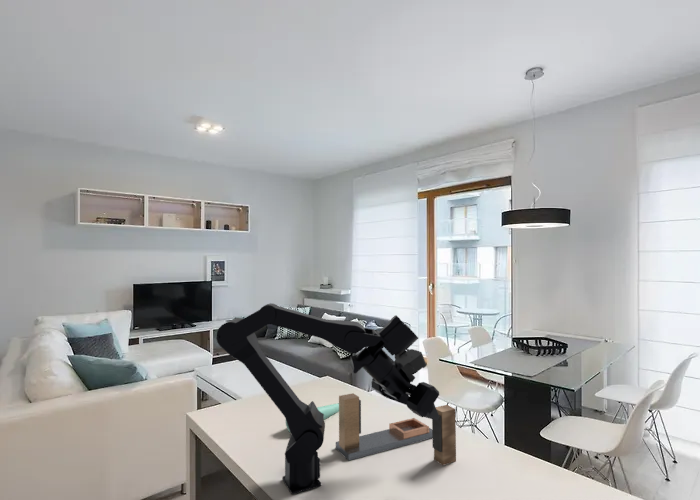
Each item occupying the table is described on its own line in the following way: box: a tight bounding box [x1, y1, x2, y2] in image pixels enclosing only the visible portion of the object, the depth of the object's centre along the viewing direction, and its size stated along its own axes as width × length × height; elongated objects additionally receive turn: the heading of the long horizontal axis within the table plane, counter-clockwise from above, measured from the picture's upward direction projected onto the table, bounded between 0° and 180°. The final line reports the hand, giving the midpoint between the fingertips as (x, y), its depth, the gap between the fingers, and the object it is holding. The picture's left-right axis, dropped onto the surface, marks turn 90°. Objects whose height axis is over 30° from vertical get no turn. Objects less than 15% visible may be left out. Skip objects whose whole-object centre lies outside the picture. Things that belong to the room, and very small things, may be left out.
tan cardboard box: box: [431, 404, 457, 466], centre depth 91 cm, size 5×3×12 cm, turn 118°
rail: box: [335, 392, 432, 461], centre depth 100 cm, size 26×7×14 cm, turn 118°
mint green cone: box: [285, 402, 339, 433], centre depth 116 cm, size 5×6×27 cm
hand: (424, 411), depth 88 cm, fingers open, 9 cm apart
